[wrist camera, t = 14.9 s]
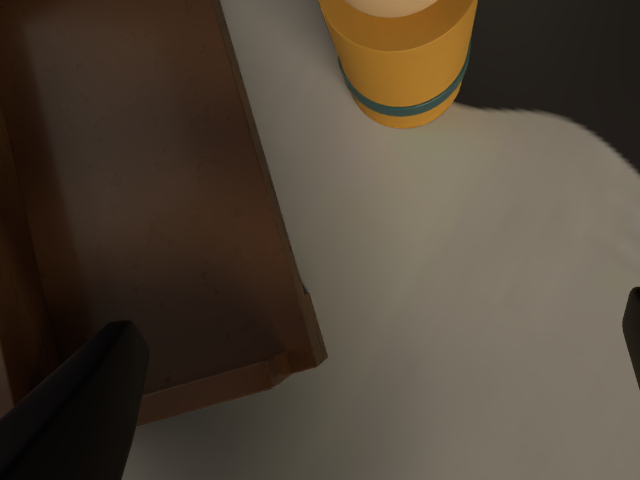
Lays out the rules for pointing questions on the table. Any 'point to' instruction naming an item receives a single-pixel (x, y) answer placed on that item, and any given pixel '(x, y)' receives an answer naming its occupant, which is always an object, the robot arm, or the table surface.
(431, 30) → the doll
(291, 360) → the wooden desk tray
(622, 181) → the table surface
